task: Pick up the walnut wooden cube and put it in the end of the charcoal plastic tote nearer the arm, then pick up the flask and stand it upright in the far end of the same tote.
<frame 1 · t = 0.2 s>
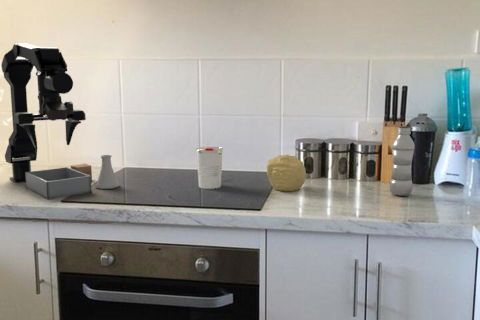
hand: (52, 146, 153), 14 cm above the worktop, tool pointing down, fingers open, 9 cm apart
flask: (107, 187, 166), on the worktop
plastic bottle: (400, 195, 155), on the worktop
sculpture: (286, 189, 163), on the worktop
tote: (58, 190, 161), on the worktop
white bucket: (209, 187, 166), on the worktop
walnut cube: (81, 180, 176), on the worktop
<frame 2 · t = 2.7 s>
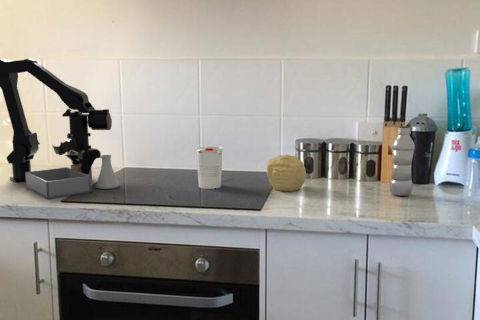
hand: (81, 176, 176), 1 cm above the worktop, tool pointing down, fingers closed on walnut cube, 5 cm apart
walnut cube: (81, 179, 176), on the worktop, touching gripper
everything else where it was.
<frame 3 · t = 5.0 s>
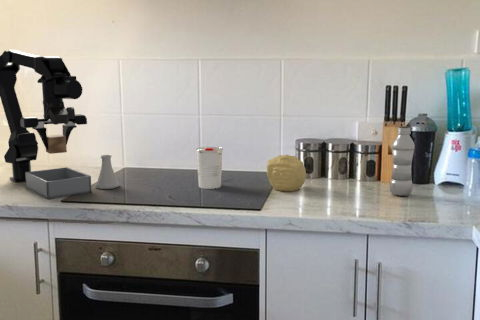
hand: (56, 148, 165), 12 cm above the worktop, tool pointing down, fingers closed on walnut cube, 5 cm apart
walnut cube: (56, 151, 165), point 11 cm above the worktop, touching gripper
everything else where it was.
when the fingers open (3 cm above the worktop, at t = 7.2 s): walnut cube drops 2 cm, resting on tote.
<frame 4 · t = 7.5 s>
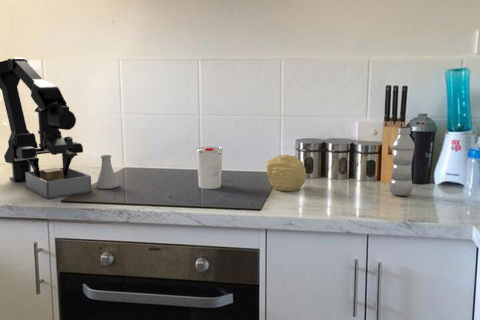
hand: (52, 177, 164), 3 cm above the worktop, tool pointing down, fingers open, 8 cm apart
walnut cube: (52, 185, 165), point 1 cm above the worktop, touching tote
everything else where it was.
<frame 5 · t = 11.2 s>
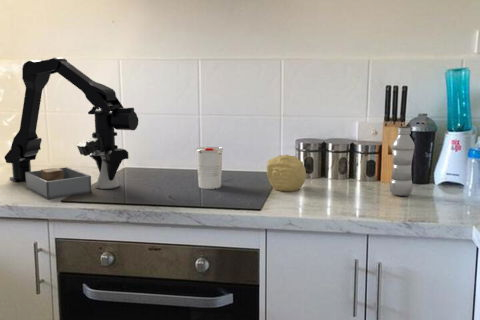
hand: (107, 178, 165), 3 cm above the worktop, tool pointing down, fingers closed on flask, 5 cm apart
flask: (107, 187, 166), on the worktop, touching gripper
everything else where it was.
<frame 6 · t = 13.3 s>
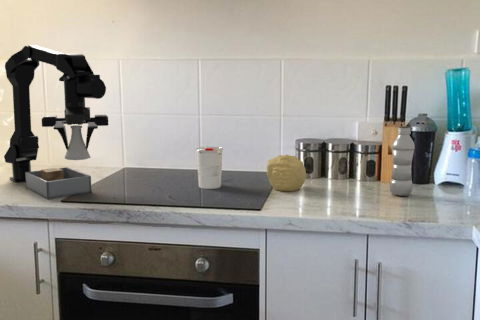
hand: (77, 149, 159), 13 cm above the worktop, tool pointing down, fingers closed on flask, 5 cm apart
flask: (77, 159, 160), point 9 cm above the worktop, touching gripper
everything else where it was.
when the fingers open (5 cm above the worktop, at t = 15.7 s): flask stays where it is, resting on tote.
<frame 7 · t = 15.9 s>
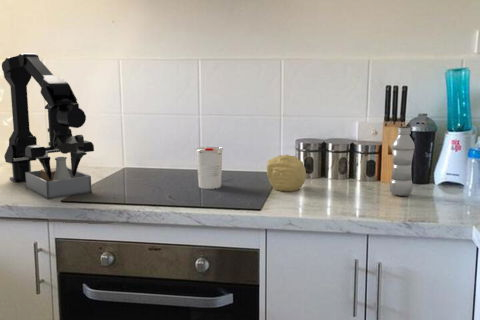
hand: (62, 177, 158), 5 cm above the worktop, tool pointing down, fingers open, 7 cm apart
flask: (62, 191, 159), resting on tote
everything else where it was.
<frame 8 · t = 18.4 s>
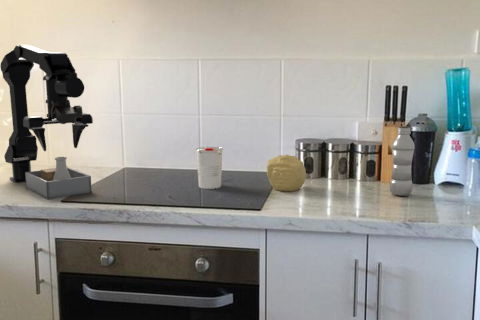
hand: (60, 149, 156), 13 cm above the worktop, tool pointing down, fingers open, 9 cm apart
nothing on the worktop moved.
at the end: walnut cube inside the target area on the tote (4.5 cm from its centre), point 0.6 cm above the tote's base; flask inside the target area on the tote (3.6 cm from its centre), point 0.4 cm above the tote's base; flask tilted 0° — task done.
